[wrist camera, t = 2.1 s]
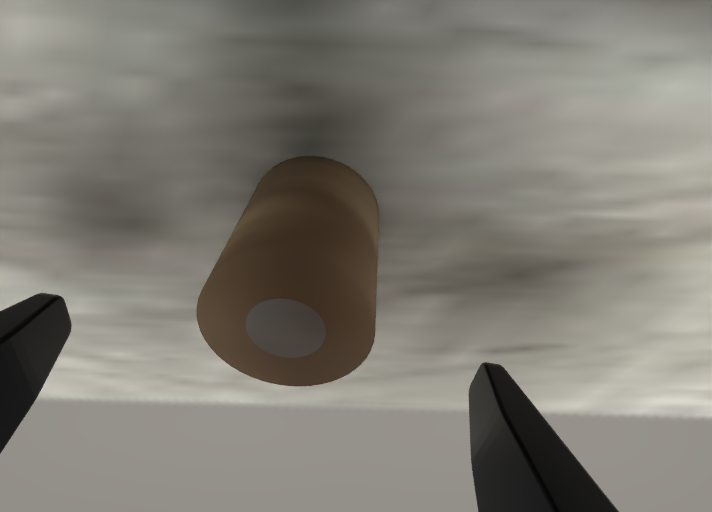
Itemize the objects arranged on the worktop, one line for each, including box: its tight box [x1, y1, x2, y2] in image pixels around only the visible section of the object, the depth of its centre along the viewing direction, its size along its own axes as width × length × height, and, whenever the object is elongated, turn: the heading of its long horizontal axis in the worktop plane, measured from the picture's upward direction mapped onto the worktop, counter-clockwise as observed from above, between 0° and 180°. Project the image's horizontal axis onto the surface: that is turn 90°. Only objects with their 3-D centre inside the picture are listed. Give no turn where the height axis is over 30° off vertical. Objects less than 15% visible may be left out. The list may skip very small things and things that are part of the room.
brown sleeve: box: [197, 156, 379, 386], centre depth 12 cm, size 4×4×5 cm
